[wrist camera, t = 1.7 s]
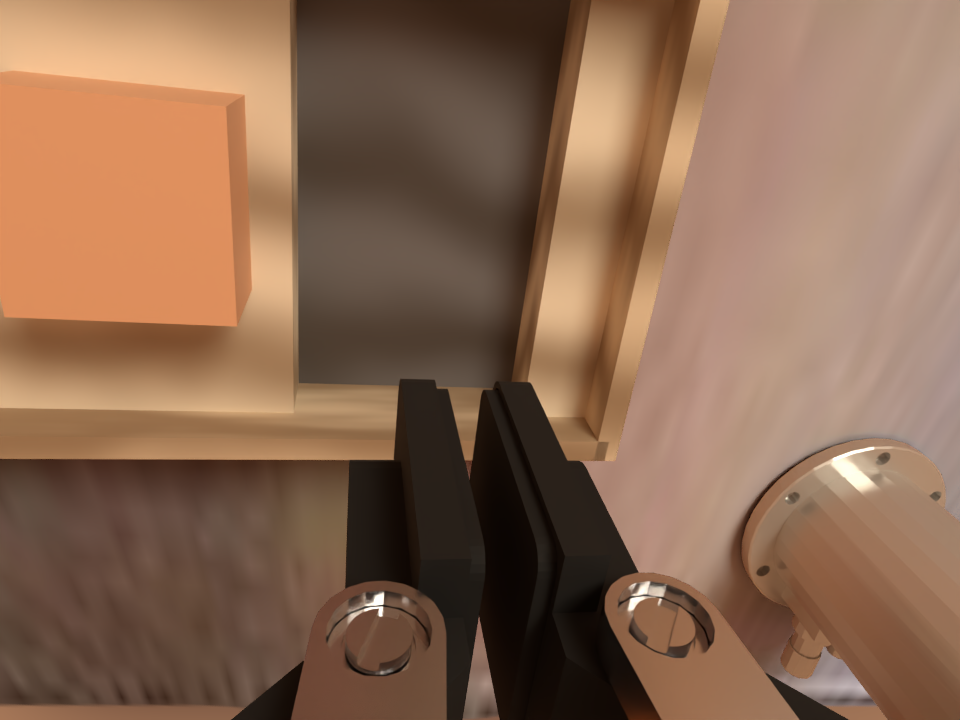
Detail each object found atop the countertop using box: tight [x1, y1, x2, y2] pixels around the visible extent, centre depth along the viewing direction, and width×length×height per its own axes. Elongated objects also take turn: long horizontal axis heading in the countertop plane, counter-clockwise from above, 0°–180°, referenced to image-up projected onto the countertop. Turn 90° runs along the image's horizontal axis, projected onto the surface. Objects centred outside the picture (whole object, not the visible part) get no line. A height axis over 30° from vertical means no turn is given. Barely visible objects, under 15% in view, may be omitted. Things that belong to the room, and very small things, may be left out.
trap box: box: [0, 0, 730, 461], centre depth 23 cm, size 20×46×5 cm, turn 83°
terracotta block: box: [0, 70, 252, 327], centre depth 22 cm, size 7×7×4 cm
